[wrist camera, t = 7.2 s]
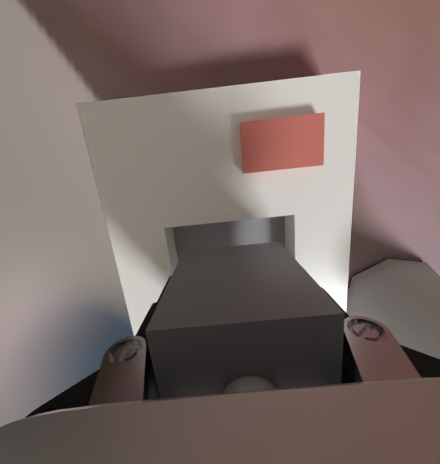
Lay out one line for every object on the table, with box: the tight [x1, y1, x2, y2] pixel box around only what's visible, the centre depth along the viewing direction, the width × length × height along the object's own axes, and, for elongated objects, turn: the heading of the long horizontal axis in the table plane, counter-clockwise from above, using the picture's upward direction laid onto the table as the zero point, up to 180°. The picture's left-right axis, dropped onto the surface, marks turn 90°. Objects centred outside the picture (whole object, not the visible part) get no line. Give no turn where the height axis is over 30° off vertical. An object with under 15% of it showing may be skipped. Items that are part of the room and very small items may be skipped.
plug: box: [145, 242, 345, 399], centre depth 8 cm, size 5×5×8 cm
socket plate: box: [77, 71, 361, 336], centre depth 14 cm, size 18×14×4 cm
